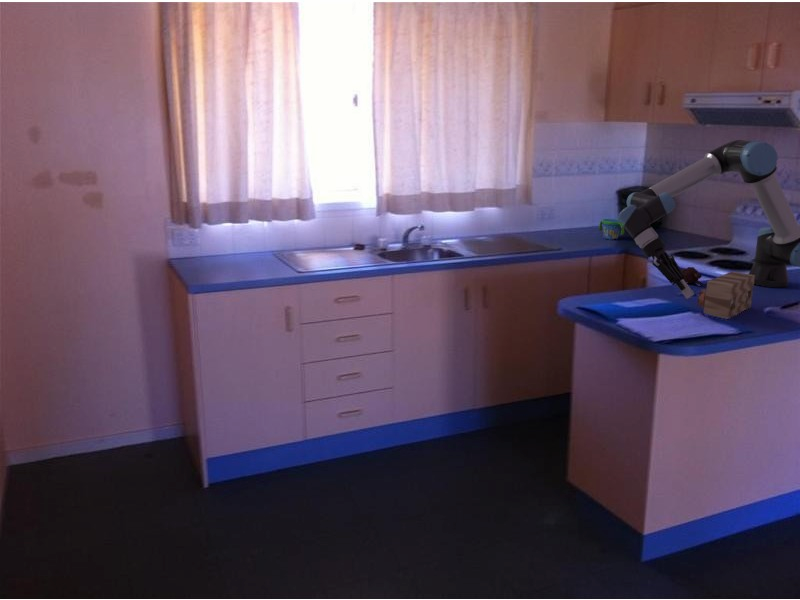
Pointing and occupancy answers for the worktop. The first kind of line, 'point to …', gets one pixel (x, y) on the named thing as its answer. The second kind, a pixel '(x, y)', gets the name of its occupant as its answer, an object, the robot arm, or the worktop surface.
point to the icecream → (691, 275)
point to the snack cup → (611, 228)
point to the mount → (728, 294)
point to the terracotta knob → (702, 298)
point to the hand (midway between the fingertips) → (690, 296)
